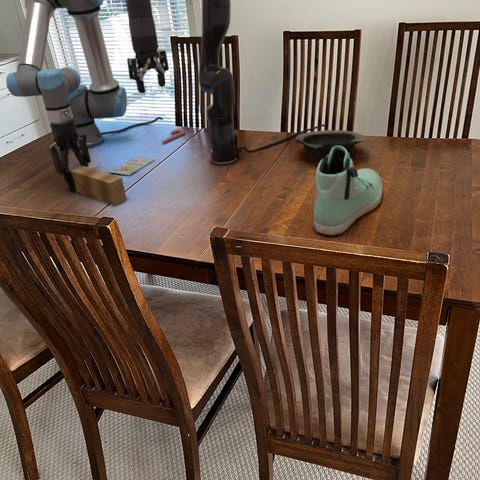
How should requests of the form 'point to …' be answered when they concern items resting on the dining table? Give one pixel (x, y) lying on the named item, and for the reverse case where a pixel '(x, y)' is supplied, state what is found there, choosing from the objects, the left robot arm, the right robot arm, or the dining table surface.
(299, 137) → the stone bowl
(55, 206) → the dining table surface
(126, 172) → the baking ingredient package
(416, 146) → the dining table surface
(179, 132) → the candy cane
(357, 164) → the dining table surface
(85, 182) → the bar
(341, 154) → the sneaker
